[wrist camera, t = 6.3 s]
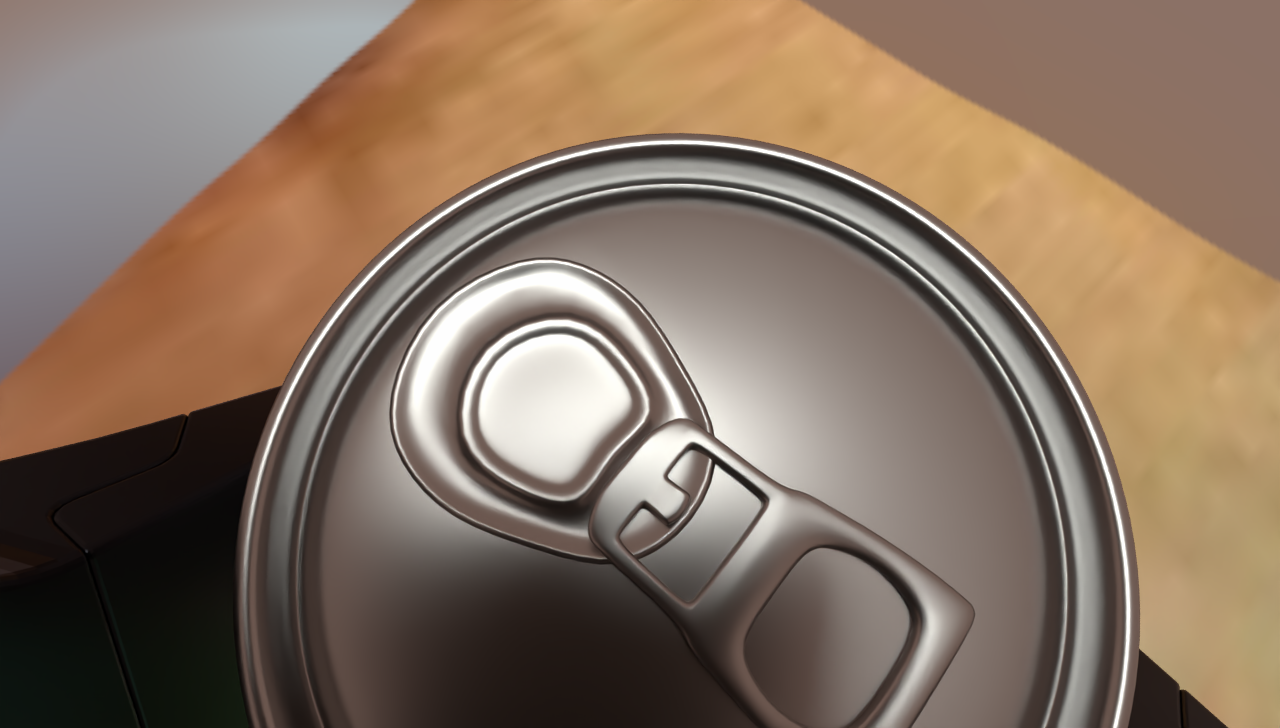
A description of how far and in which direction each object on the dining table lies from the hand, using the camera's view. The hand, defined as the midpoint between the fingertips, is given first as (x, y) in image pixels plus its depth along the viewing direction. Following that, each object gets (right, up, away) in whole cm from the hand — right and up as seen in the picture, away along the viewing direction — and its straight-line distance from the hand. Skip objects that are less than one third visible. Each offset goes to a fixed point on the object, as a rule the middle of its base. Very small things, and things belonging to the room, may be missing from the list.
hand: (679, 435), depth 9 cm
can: (-1, -3, +7) cm, 7 cm away
